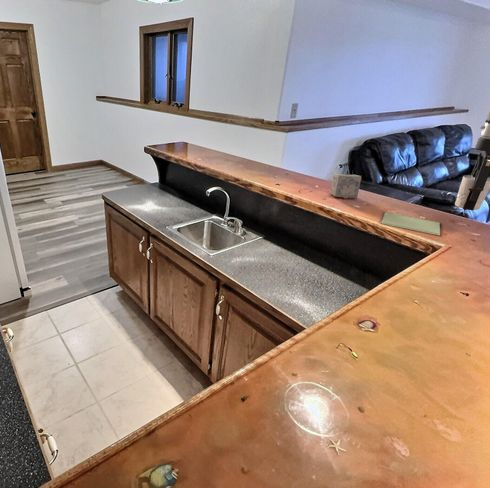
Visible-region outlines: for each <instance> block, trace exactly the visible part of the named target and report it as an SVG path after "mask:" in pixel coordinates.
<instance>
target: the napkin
mask: <svg viewBox="0 0 490 488" xmlns="http://www.w3.org/2000/svg"><path fill="white" fill-rule="evenodd" d="M440 223H441V222H439V221H434V220H429V219H423V218H419V217H414V216H408V215H404V214H403V215H402V214H398V213H392V212H387V211H385V212H384V215H383V217H382V220H381V223H380V224H381V225H386V226H390V227H396V228H400V229H405V230H410V231H414V232H419V233H424V234H428V235H434V236H437V237H440V236H441V224H440Z"/></svg>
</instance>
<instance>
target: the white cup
mask: <svg viewBox="0 0 490 488" xmlns="http://www.w3.org/2000/svg"><path fill="white" fill-rule="evenodd" d="M474 181H475V178H474V177H472V176H471V175H462V180H461V183H460V185H459V188H458V192H457V195H456V198H455V202H454V205H455V207H457V208H460V209H463V206H464V204H465V201H466V199H467V196H468V194H469V192H470V190H468V189H469V188H472V186H473V183H474ZM489 191H490V177H488V178H487V181H486V183H485V186H484V190H483V191H481V193H480V195H479V198H478V200H477V202H476V205H475V207H474V210H473V211H479V210H480V209H481V206H482V204H483V202H484V201H485V200H486V197H487V196H488V193H489Z"/></svg>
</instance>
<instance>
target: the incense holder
mask: <svg viewBox="0 0 490 488" xmlns="http://www.w3.org/2000/svg"><path fill="white" fill-rule="evenodd" d="M361 182H362V175H357V174H344V173H336V172H335V173H333V176H332V183H331V188H330V191H329V195H332V196H333V197H335V198H336V197H337V198H343V199H344V200H347V199H348V198H352V199H358V196H359V192H360V187H361Z"/></svg>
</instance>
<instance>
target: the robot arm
mask: <svg viewBox="0 0 490 488" xmlns="http://www.w3.org/2000/svg"><path fill="white" fill-rule="evenodd" d="M480 129H481V132H480V137H479V138H478V139H477V142H476V144H475V147H474V148H475V150H477V151H482V152H479V154H478V155H477V158H476V162H475V165H474V167H473V169H472V172H471V174H470V176H472V177H474V178H475V181H474V183H473V186H472V188H469V189H468V190H470V192H469V194H468V196H467V199H466V201H465V204H464V206H463V208H462V210H466V211H475V210H474V207H475V205H476V202H477V200H478V198H479V195H480V193H481V191H483V190H484V186H485V183H486V181H487V178H489V175H490V110H489V111H488V114H487V116H486V119H485V121H484V125H481V126H480Z"/></svg>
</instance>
